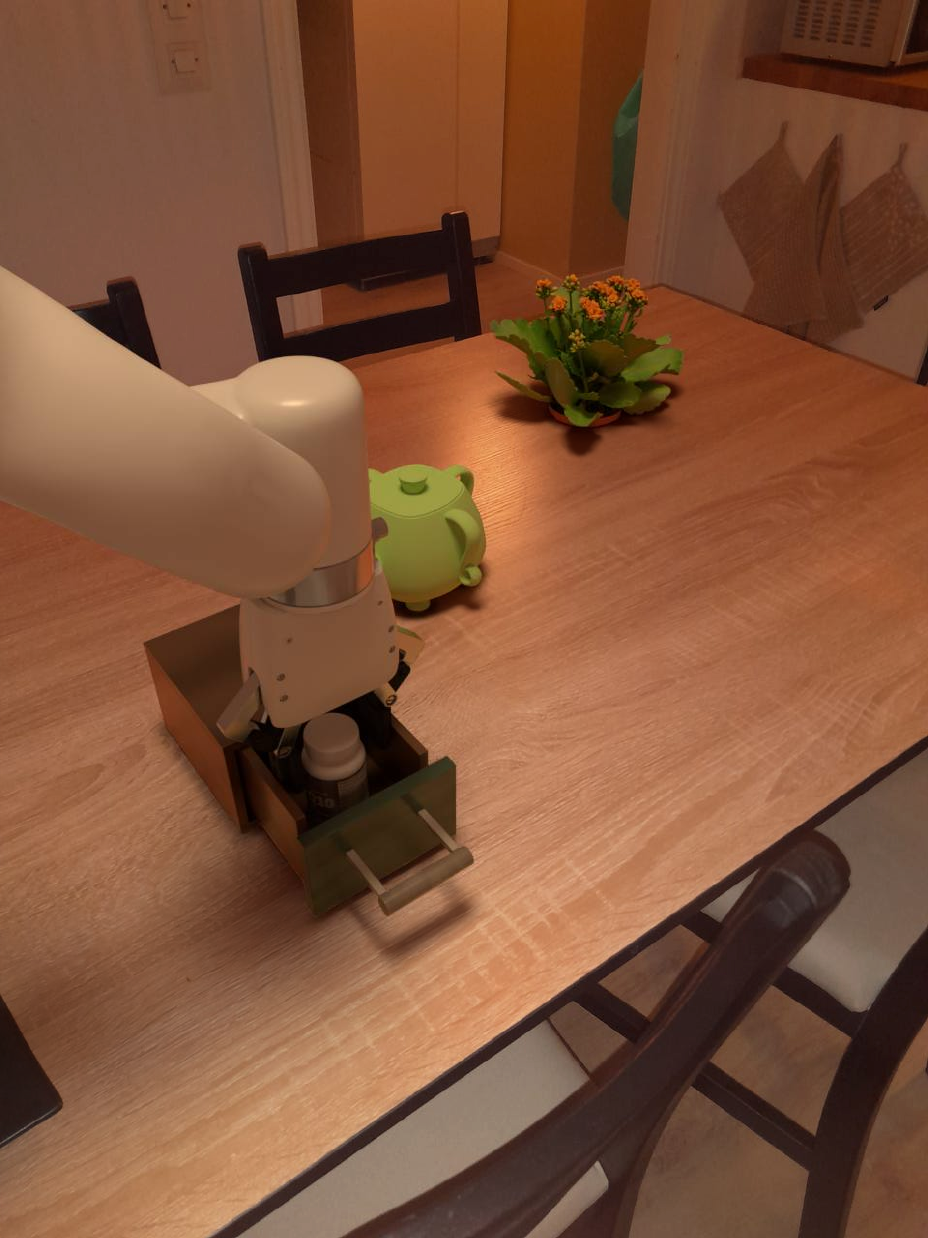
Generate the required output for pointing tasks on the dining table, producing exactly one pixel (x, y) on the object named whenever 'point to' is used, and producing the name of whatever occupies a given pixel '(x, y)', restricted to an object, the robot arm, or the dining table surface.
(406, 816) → the drawer
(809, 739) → the dining table surface
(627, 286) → the potted flower
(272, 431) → the robot arm
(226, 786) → the cabinet
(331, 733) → the pill bottle
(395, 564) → the teapot
